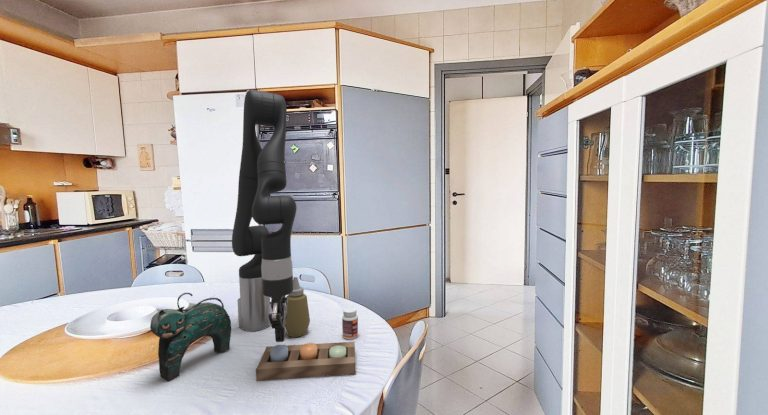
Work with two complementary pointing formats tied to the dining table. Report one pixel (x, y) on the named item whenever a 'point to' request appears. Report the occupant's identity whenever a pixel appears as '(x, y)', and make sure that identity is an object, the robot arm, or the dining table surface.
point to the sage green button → (337, 352)
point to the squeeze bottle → (297, 311)
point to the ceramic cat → (188, 332)
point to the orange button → (308, 351)
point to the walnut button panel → (307, 363)
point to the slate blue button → (279, 353)
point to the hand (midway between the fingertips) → (280, 340)
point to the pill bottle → (350, 323)
